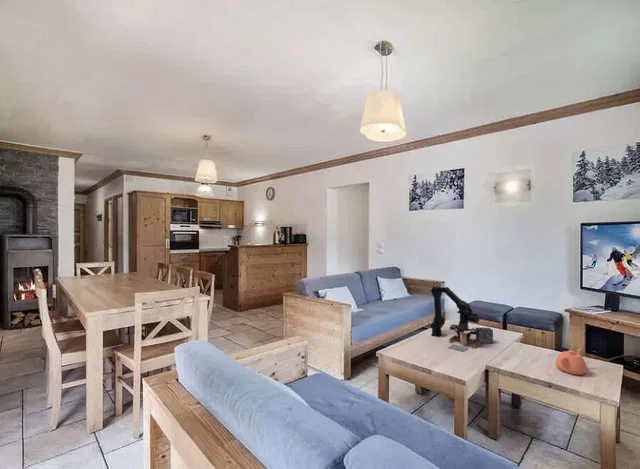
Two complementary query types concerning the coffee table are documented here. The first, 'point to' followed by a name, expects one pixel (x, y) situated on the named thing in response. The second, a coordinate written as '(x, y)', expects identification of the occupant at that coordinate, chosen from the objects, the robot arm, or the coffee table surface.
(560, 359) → the orange rounded lump
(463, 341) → the popsicle on stick
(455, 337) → the holder
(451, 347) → the mat
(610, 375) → the coffee table surface
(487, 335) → the small box
